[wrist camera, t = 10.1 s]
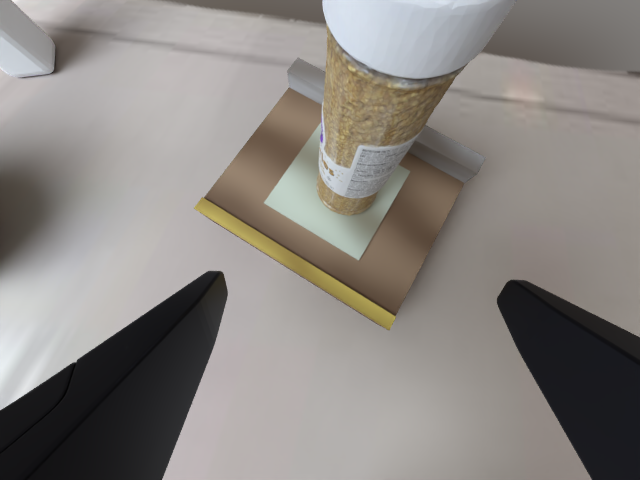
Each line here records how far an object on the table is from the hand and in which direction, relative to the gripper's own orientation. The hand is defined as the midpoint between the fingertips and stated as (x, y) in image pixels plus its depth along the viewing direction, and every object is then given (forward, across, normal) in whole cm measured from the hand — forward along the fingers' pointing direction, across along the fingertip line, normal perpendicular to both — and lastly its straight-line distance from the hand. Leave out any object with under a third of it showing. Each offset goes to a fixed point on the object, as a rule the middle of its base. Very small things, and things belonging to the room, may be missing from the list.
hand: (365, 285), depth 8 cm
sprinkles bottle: (+12, -1, +1) cm, 12 cm away
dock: (+14, 0, +3) cm, 14 cm away
